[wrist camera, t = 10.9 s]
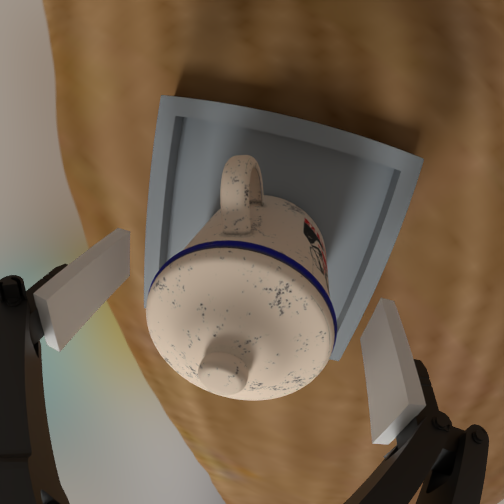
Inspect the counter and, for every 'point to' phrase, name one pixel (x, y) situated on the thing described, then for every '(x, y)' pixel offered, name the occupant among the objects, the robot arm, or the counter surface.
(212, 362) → the teacup with lid
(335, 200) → the cup tray
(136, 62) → the counter surface
